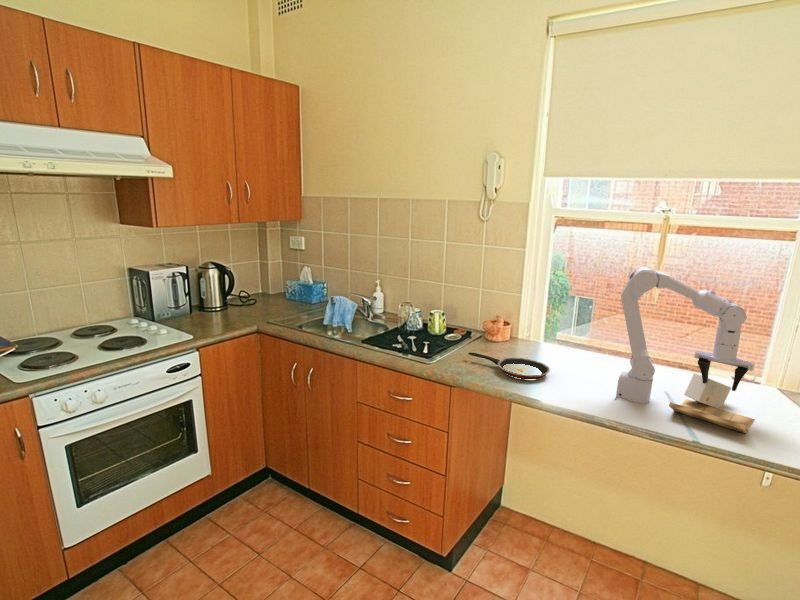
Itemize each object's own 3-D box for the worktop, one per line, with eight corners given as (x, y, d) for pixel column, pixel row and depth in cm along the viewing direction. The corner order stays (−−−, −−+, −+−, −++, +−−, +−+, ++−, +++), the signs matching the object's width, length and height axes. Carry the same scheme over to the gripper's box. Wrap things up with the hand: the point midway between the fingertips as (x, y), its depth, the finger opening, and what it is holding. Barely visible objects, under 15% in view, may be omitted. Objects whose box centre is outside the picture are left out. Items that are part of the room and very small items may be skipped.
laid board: (676, 411, 139) (677, 407, 139) (685, 402, 146) (686, 399, 146) (747, 434, 127) (748, 429, 126) (754, 423, 133) (755, 419, 133)
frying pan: (540, 388, 154) (541, 378, 154) (457, 367, 172) (458, 358, 171) (555, 372, 170) (556, 363, 169) (477, 354, 187) (478, 346, 186)
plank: (668, 406, 132) (670, 402, 132) (675, 412, 139) (676, 408, 139) (743, 429, 119) (744, 424, 119) (746, 434, 126) (748, 430, 126)
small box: (715, 381, 146) (693, 372, 143) (732, 387, 141) (709, 378, 137) (705, 403, 147) (683, 394, 143) (721, 410, 141) (698, 401, 138)
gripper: (760, 346, 130) (751, 390, 132) (702, 335, 140) (695, 376, 143) (754, 351, 125) (746, 396, 128) (695, 339, 136) (688, 381, 138)
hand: (719, 386), depth 135 cm, fingers open, 7 cm apart
